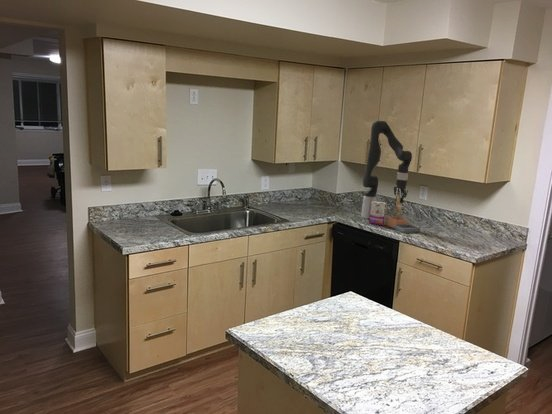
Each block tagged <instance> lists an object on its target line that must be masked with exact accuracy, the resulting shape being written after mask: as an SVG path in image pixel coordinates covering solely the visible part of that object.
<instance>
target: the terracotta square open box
mask: <svg viewBox="0 0 552 414" xmlns="http://www.w3.org/2000/svg"><path fill="white" fill-rule="evenodd" d="M386 220H387V222H386V226H387V227H390V228H392V229H393V228H394V225H403V224H408V218H404V217H402V216H399V215H397V216H387V218H386Z"/></svg>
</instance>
